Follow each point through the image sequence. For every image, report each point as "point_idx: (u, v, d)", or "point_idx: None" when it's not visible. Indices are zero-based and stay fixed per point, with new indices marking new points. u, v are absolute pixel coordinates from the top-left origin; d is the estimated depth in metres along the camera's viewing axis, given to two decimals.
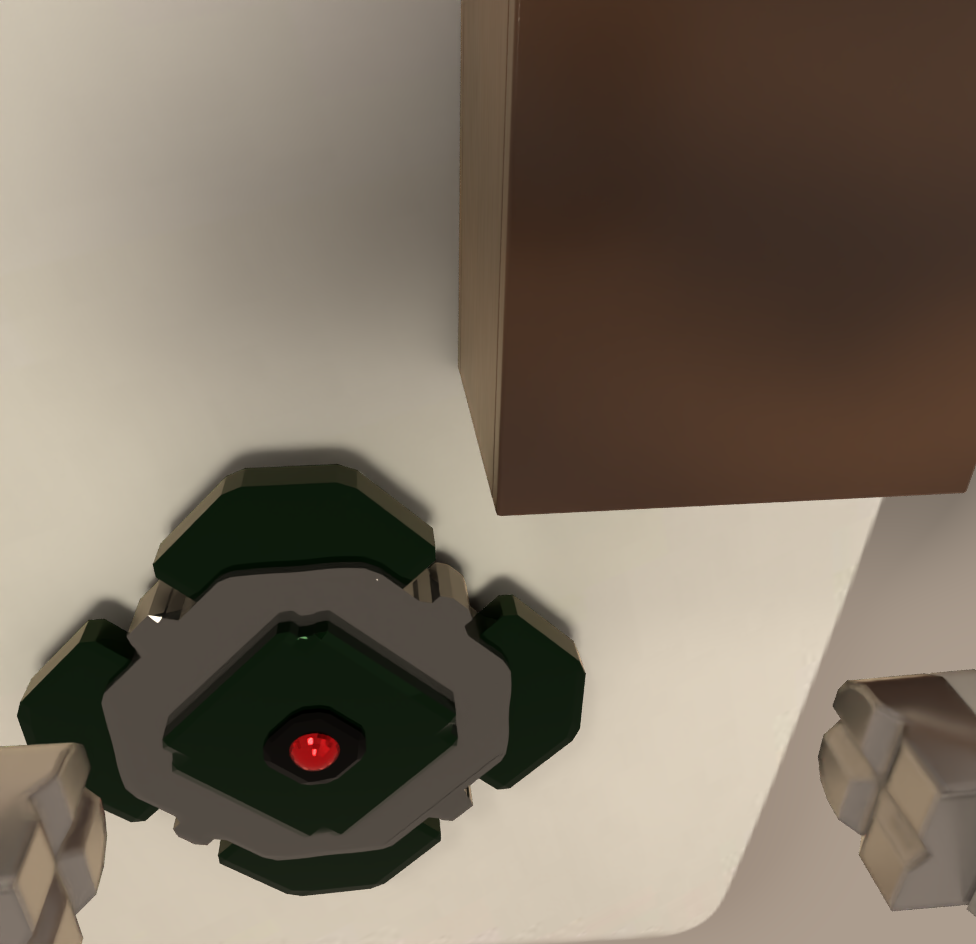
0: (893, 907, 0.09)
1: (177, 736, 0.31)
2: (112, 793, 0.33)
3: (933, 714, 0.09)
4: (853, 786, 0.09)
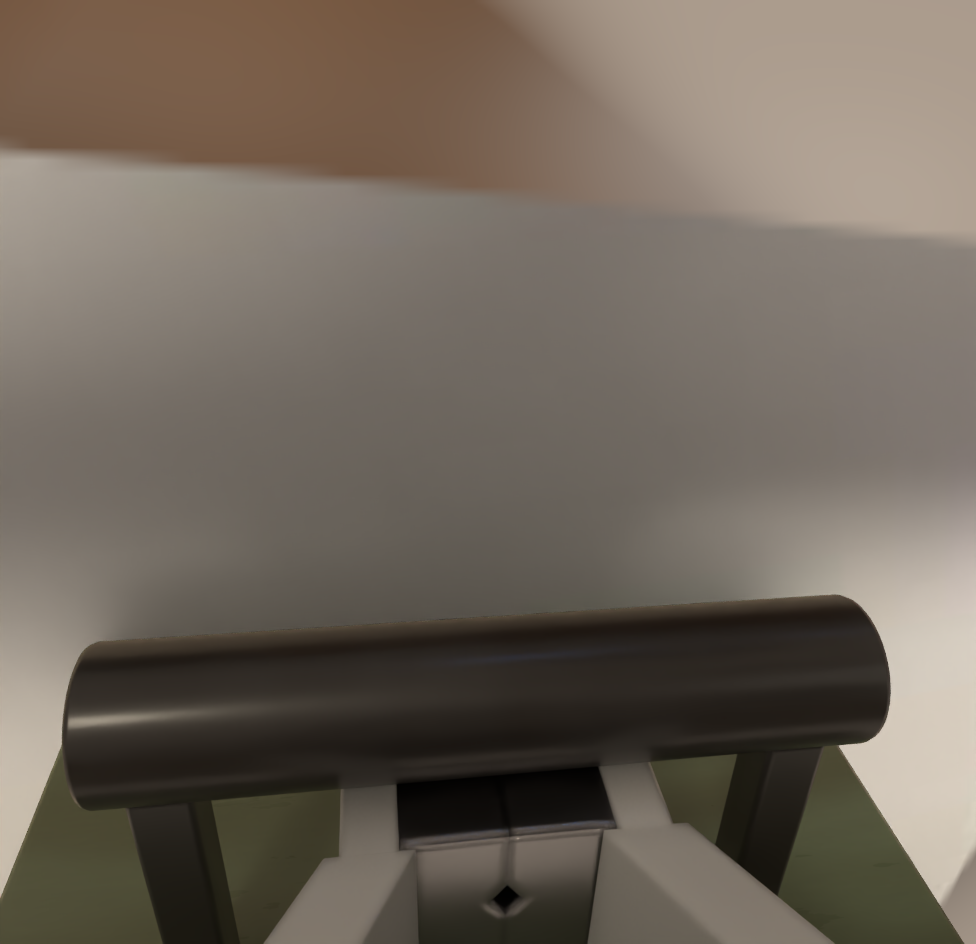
0: None
1: None
2: None
3: None
4: None
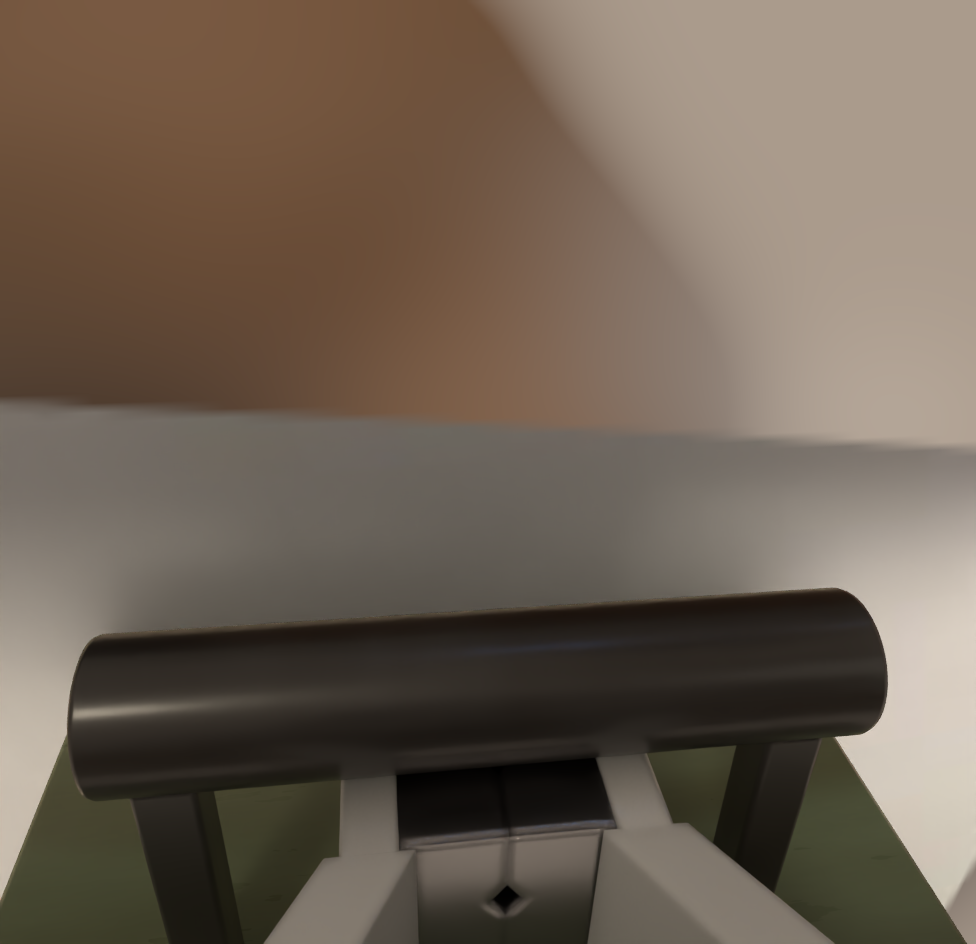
0: None
1: None
2: None
3: None
4: None
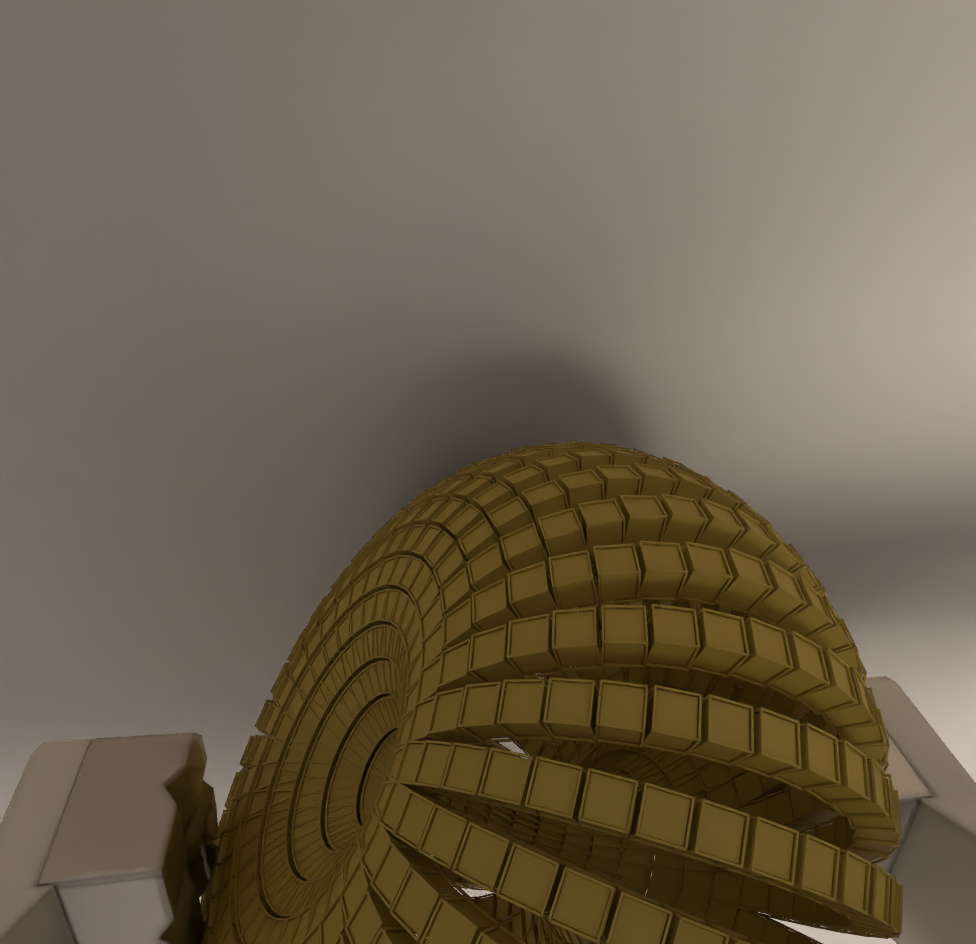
0: None
1: None
2: None
3: None
4: None
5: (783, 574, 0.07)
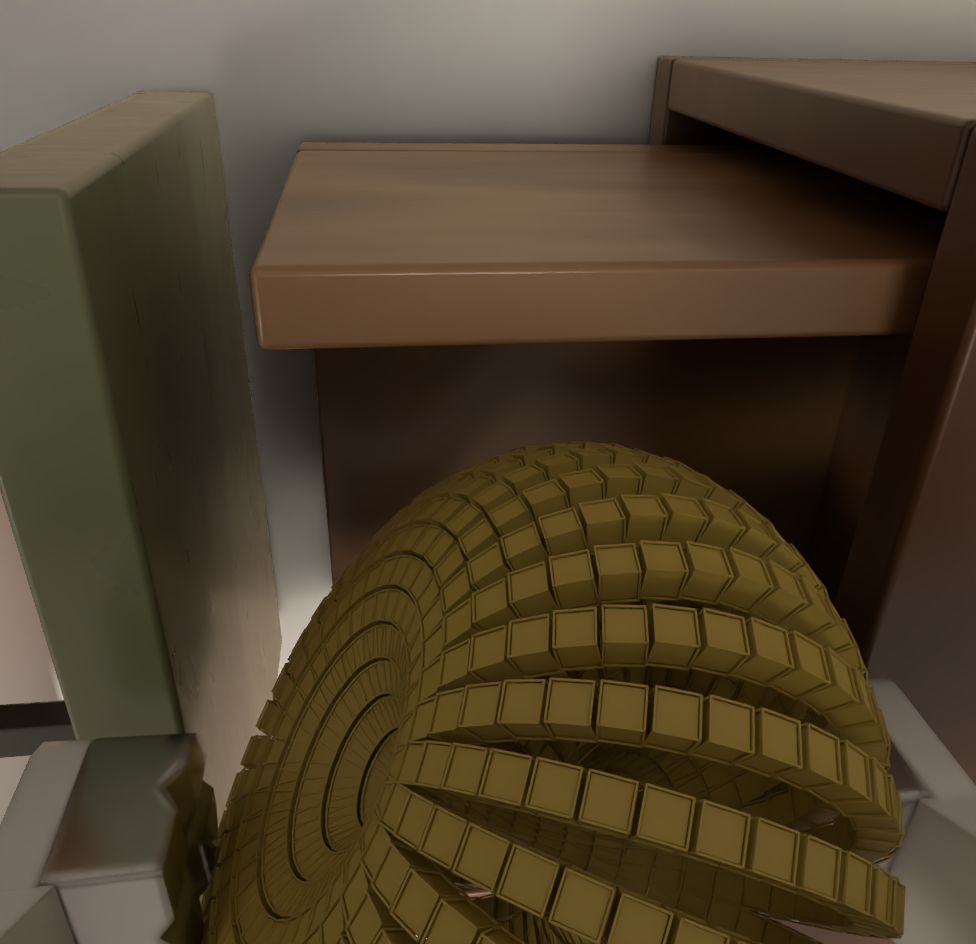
0: None
1: None
2: None
3: None
4: None
5: (784, 574, 0.06)
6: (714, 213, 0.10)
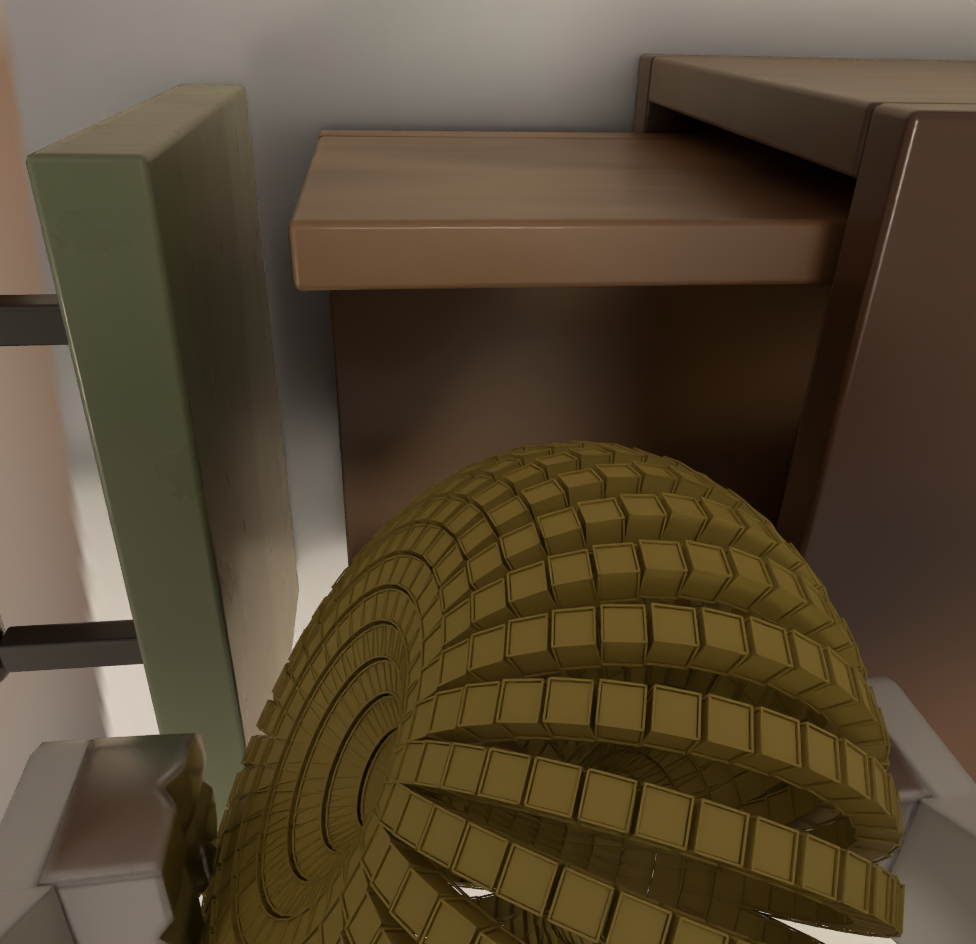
0: None
1: None
2: None
3: None
4: None
5: (783, 572, 0.06)
6: (676, 185, 0.11)
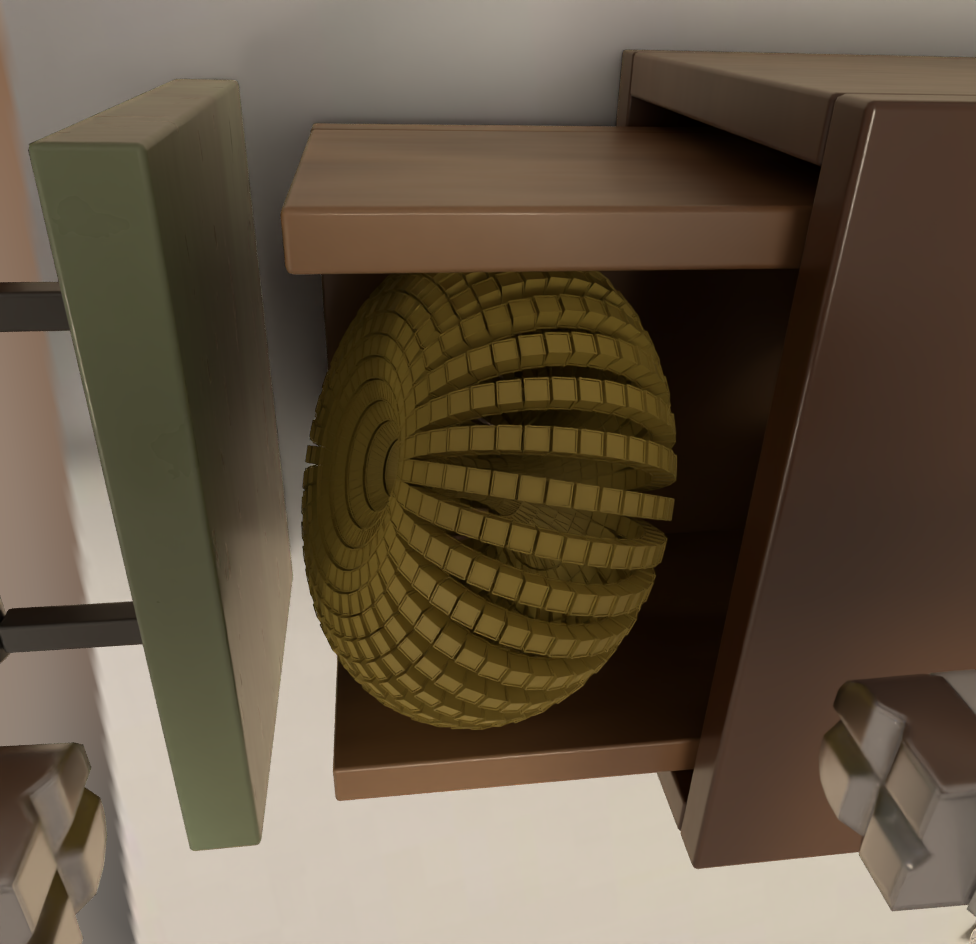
0: (894, 906, 0.09)
1: None
2: None
3: (933, 714, 0.09)
4: (853, 786, 0.09)
5: (594, 301, 0.11)
6: (655, 175, 0.12)
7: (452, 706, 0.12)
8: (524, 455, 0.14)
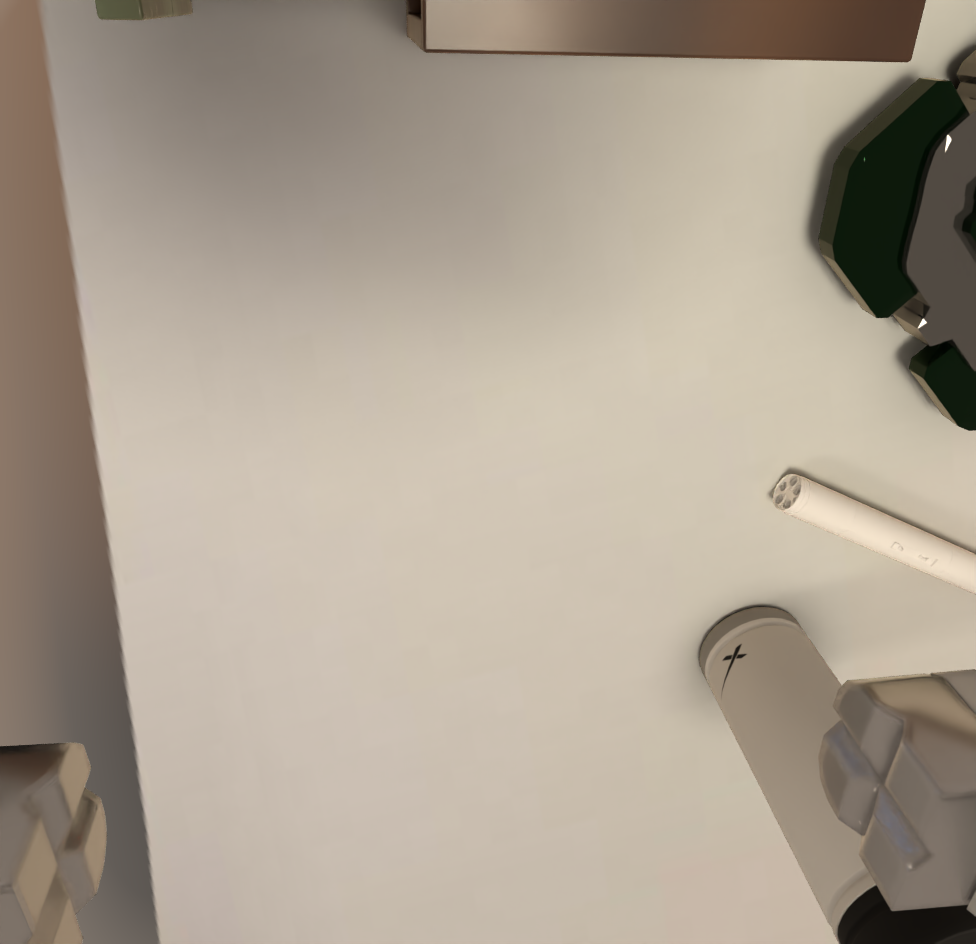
0: (894, 906, 0.09)
1: None
2: None
3: (933, 714, 0.09)
4: (853, 786, 0.09)
5: None
6: None
7: None
8: None
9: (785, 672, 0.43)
